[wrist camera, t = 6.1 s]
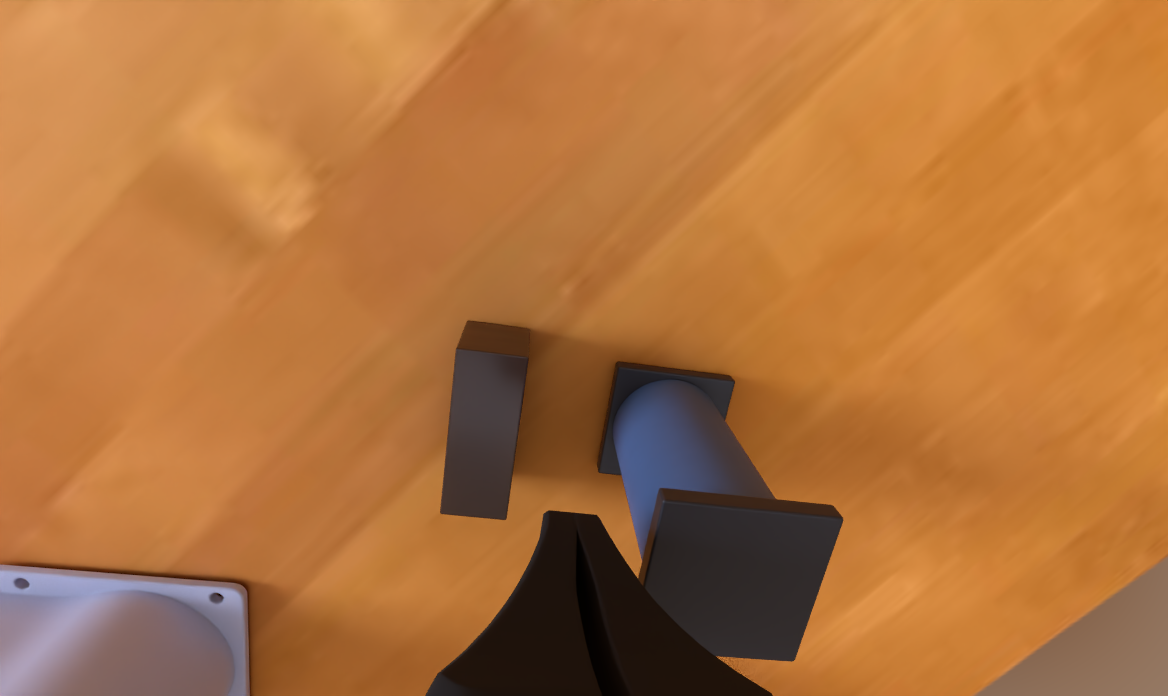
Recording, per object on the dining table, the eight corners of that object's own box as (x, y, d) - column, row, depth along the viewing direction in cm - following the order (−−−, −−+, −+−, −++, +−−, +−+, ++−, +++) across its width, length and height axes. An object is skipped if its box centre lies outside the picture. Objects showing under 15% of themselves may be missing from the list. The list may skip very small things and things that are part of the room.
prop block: (452, 468, 23) (439, 514, 20) (467, 319, 21) (456, 348, 18) (510, 474, 23) (506, 520, 21) (530, 328, 21) (528, 357, 19)
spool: (467, 540, 18) (755, 736, 13) (483, 408, 17) (810, 574, 12) (634, 444, 26) (853, 546, 21) (654, 348, 24) (894, 434, 20)
